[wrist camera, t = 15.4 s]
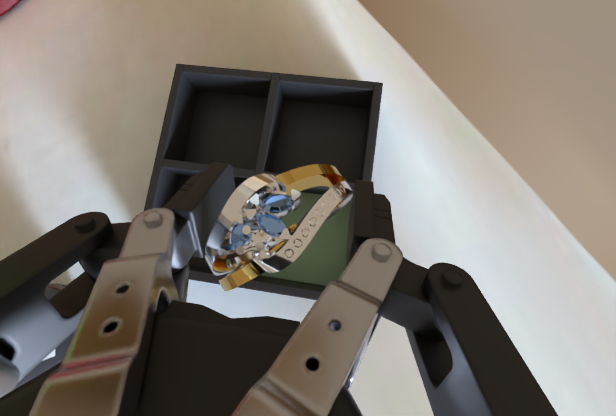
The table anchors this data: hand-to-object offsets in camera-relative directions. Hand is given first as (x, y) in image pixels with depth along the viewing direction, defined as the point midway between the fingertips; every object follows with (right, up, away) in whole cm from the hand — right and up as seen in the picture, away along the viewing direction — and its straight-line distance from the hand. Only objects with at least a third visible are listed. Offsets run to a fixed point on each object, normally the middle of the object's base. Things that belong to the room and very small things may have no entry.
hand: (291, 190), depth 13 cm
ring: (0, -2, +4) cm, 5 cm away
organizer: (-3, +2, +17) cm, 18 cm away
